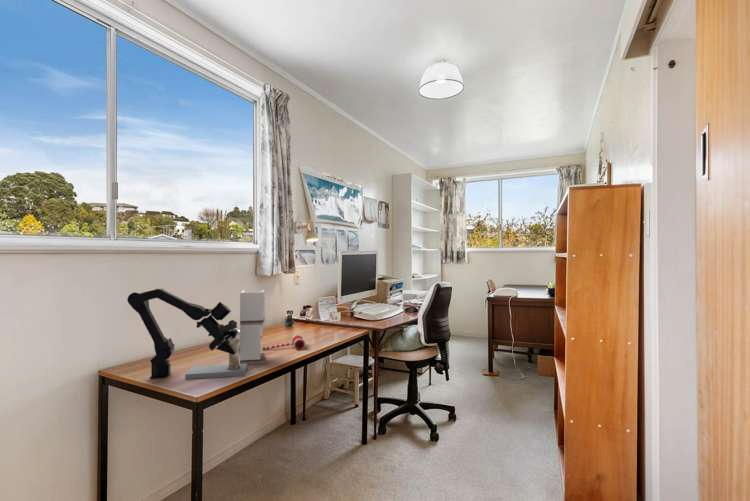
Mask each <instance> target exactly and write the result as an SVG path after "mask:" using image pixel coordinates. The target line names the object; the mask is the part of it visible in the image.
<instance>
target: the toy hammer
mask: <svg viewBox="0 0 750 501" xmlns="http://www.w3.org/2000/svg"><path fill="white" fill-rule="evenodd" d="M288 346H293V348H294V349H295V350H296V351H302V350H304V349H305V347H306V341H305V340H304V338H303V337H302V336H301V335H300V334H296V335H293V337H292V338H291V342H288V343H287V342H286V343H282V344H275V345H271V346H266V347H265V346H263V347H262V351H267V350H272V349H278V348H283V347H288Z"/></svg>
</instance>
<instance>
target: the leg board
mask: <svg viewBox="0 0 750 501" xmlns="http://www.w3.org/2000/svg"><path fill="white" fill-rule="evenodd" d="M247 369H248V364H240V363H239V366H238V369H234V370H230V367H229V364H217V365H216V364H214V365H213V364H211V365H197V366H196V365H195V366H192V367H191V368H190V369H189V370H188V371H187V372H186V373H185V375H184V379H185V380H191V379H194V380H195V379H208V378H224V377H238V376H239V377H240V376H241V377H243V376H244V375H245V374H246V372H247Z"/></svg>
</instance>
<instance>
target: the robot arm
mask: <svg viewBox="0 0 750 501" xmlns="http://www.w3.org/2000/svg"><path fill="white" fill-rule="evenodd" d="M155 299H158V300H160V301H162V302H165V303H166V304H169V305H171V306H173V307H174V308H176V309H179V310H180V311H182V312H183V313H184V314H185V315H186V316H188V317H189V318H190V319H192V320H193V321H196V328H197V329H199V328H201V327H203V329H204V330H205V331H206V332H208V335H207V336H208V337H212V338H213V340H212V341H211V342H210V343H209V344H208V348H209V350H210V351H215V350H216V351H221V352H224V353H227V354H229V353H230V354H232V355H234V354H235V352H234V350H233V349H232V347H231V346H230V345H229V340H230V339H235V338H236V334H237V333H238V331H237V330H238V329H236V328H238V325H237V324H238V322H237V321H236V320H234V319H232V320H229V321H228V323H227V324H225V325H224V324H222V323H221V324H220V323H219V322H218V321H223V320H224V319H225V318H226V317H227V316H228V315H230V313H231V312H232V311H231V309H230V308H229V307H228V306H227V305H225V304H224V303H222V302H221V301H219V302H218V303H217V304H216V305H215V306H214V307H213V308H211V309H210V308H205V307H204V306H202V305H200V304H197V303H196V304H195V303H191V302H188V301H187V300H184V299H183V298H180V297H179V296H177V295H174V294H172V293H171V292H168V291H167V290H165V289H163V288H162V287H161V288H160V287H159V288H156V289H153V290H149V291H143V290H137V291H135V292H132V293H130V294H129V295H128V296H127V300H126V301H127V303H128V304H129V306H130V307H131V308H132V309H133V310H134V311H135V312H136V313H137V314H139V317H140V318H141V321H142V322H143V325H145V328H146V330H147V332H148V333H149V335H150V338H151V339H152V341H153V346H154V351H155V355H154V356H152V358H151V359H150V360H149V361H150V363H151V366H150V367H151V369H150V372H151V373H150V374H151V376H149V378H150V379H159V378H161V379H163V378H167V377H168V376H169V375H170V374H171V373H172V372H171V371H172V370H171V369H172V367H171V366H172V365H171V363H170V357H171V356H172V355H173V354H174V352H175V346H176V345H175V343H174V342H173V340H172V338H171V337H169V338H168V339H167V337H165V335H164V334H163V332H162V329H161V327H160V325H159V323H158V322H157V320H156V318H155V316H154V314H153V313H152V311H151V309H150V301H151V300H155ZM199 320H200V321H199ZM239 351H240V348H239Z"/></svg>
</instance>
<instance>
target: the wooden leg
mask: <svg viewBox="0 0 750 501" xmlns="http://www.w3.org/2000/svg"><path fill="white" fill-rule="evenodd" d="M229 345H230V346H231V347H232V349H233V350H234V352H235V354H234V355H232V354H230V353H228V365H229V367H230V370H234V369H238V366H239V364H240V353H239V339H237V338H235V339H230V340H229Z"/></svg>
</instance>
